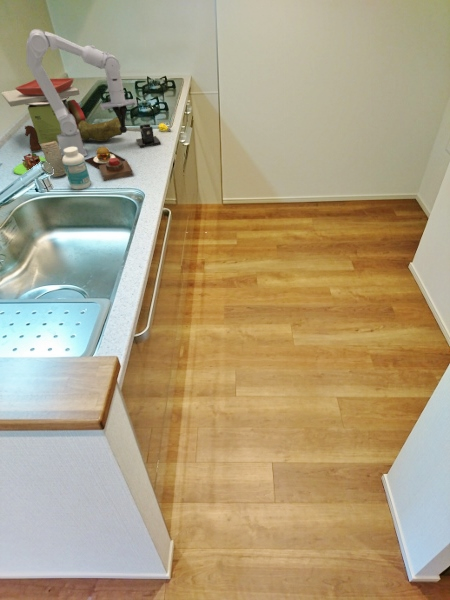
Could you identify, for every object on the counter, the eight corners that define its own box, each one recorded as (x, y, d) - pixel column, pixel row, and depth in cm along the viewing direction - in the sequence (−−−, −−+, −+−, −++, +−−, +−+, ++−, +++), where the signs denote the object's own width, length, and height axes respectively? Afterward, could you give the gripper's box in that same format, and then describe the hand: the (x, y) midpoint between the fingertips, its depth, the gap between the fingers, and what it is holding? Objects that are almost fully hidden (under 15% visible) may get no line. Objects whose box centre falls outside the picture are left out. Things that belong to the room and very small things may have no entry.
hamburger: (110, 152, 169) (107, 139, 165) (125, 160, 162) (122, 147, 159) (84, 160, 163) (81, 147, 160) (99, 169, 157) (95, 155, 153)
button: (110, 166, 150) (109, 162, 148) (108, 163, 152) (107, 158, 151) (120, 165, 150) (119, 160, 149) (118, 161, 153) (117, 157, 152)
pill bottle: (72, 181, 149) (61, 145, 140) (92, 180, 149) (83, 144, 140) (68, 190, 143) (57, 153, 134) (89, 189, 144) (79, 152, 135)
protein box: (74, 140, 180) (64, 104, 170) (39, 144, 178) (26, 107, 167) (76, 133, 188) (66, 97, 177) (42, 136, 185) (30, 100, 175)
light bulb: (156, 130, 186) (159, 127, 188) (169, 135, 186) (171, 132, 189) (157, 123, 184) (160, 121, 186) (170, 128, 184) (172, 125, 186)
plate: (62, 107, 165) (61, 103, 164) (12, 108, 165) (10, 104, 164) (76, 94, 181) (75, 90, 180) (30, 95, 181) (29, 91, 180)
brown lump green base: (35, 178, 152) (29, 163, 147) (8, 171, 157) (1, 156, 153) (63, 163, 161) (59, 148, 157) (37, 157, 167) (31, 142, 162)
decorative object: (81, 139, 184) (70, 127, 192) (89, 137, 185) (77, 126, 194) (74, 109, 174) (62, 98, 182) (82, 107, 175) (70, 96, 184)
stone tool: (81, 133, 183) (79, 147, 177) (74, 115, 175) (72, 129, 170) (125, 130, 184) (125, 143, 179) (121, 112, 176) (120, 125, 171)
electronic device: (10, 106, 162) (9, 101, 160) (1, 94, 174) (-1, 89, 173) (80, 94, 173) (79, 89, 171) (66, 83, 185) (65, 79, 184)
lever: (120, 133, 168) (120, 126, 166) (118, 131, 170) (118, 124, 168) (150, 135, 173) (150, 128, 171) (148, 133, 175) (149, 126, 173)
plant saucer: (16, 96, 165) (13, 87, 163) (38, 86, 179) (36, 78, 176) (57, 96, 162) (54, 87, 160) (76, 86, 176) (74, 78, 174)
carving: (51, 178, 149) (39, 144, 144) (50, 176, 155) (39, 143, 150) (68, 174, 151) (57, 141, 146) (67, 172, 157) (56, 140, 152)
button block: (104, 181, 149) (101, 170, 146) (99, 170, 156) (97, 160, 153) (133, 175, 152) (131, 165, 149) (127, 165, 159) (125, 155, 156)
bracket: (140, 148, 172) (137, 130, 167) (136, 141, 178) (133, 124, 173) (160, 144, 174) (158, 127, 170) (156, 138, 180) (153, 121, 175)
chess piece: (29, 151, 172) (19, 127, 167) (39, 148, 175) (30, 123, 170) (34, 152, 170) (24, 127, 164) (45, 148, 173) (35, 124, 167)
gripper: (99, 95, 154) (107, 131, 163) (136, 90, 158) (141, 125, 167) (96, 90, 159) (104, 125, 168) (132, 85, 162) (138, 120, 171)
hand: (122, 125), depth 167 cm, fingers closed, pressing on lever
